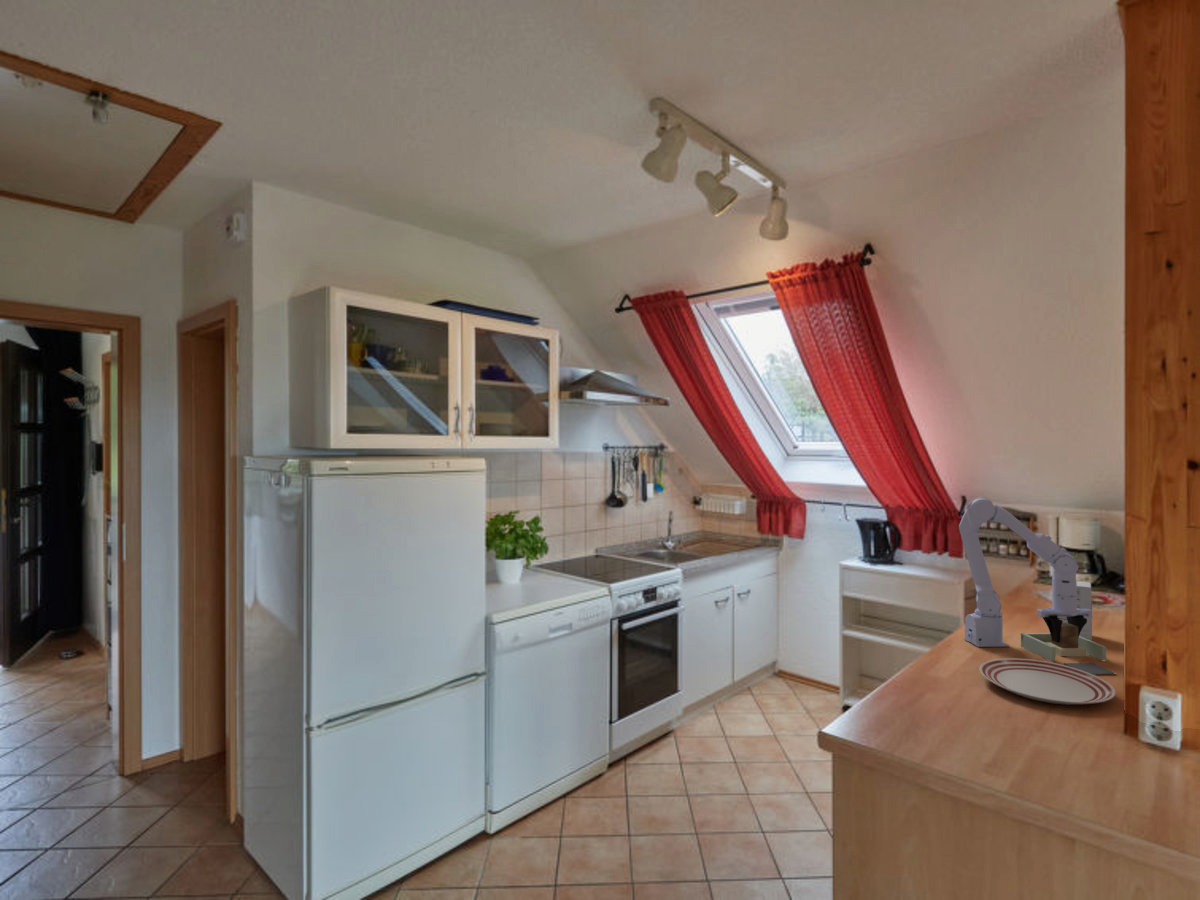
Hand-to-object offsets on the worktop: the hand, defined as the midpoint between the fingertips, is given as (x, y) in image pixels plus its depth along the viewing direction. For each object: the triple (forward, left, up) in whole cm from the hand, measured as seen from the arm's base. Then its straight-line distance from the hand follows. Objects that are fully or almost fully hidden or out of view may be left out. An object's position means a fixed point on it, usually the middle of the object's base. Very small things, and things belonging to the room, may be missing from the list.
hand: (1064, 641), depth 182 cm
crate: (-1, -1, -3) cm, 4 cm away
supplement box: (+14, +15, -3) cm, 20 cm away
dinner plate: (-24, -27, -4) cm, 37 cm away
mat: (-3, -14, -3) cm, 15 cm away
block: (0, 0, -1) cm, 1 cm away
